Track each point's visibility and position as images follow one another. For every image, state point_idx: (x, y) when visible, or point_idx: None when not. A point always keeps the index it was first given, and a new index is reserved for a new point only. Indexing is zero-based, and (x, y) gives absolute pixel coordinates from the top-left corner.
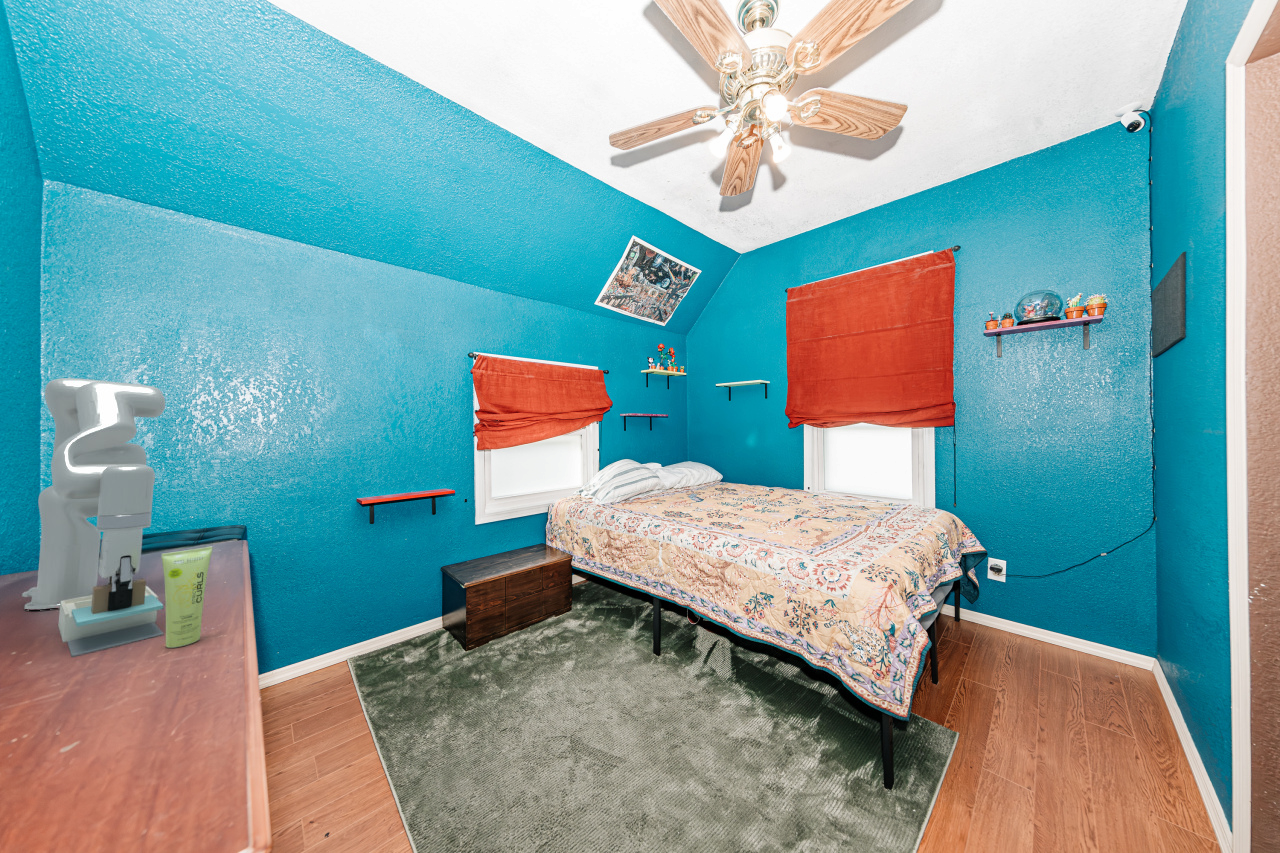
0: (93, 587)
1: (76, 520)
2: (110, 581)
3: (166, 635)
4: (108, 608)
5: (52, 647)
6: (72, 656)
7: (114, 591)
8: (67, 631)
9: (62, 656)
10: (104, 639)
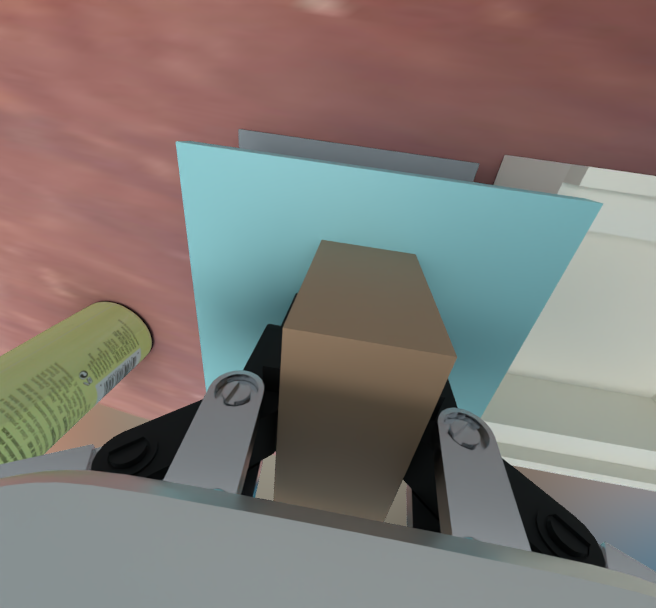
0: (419, 352)
1: None
2: (441, 469)
3: (76, 319)
4: (293, 299)
5: (471, 112)
6: (239, 130)
7: (225, 384)
8: (521, 171)
9: (286, 110)
10: None
